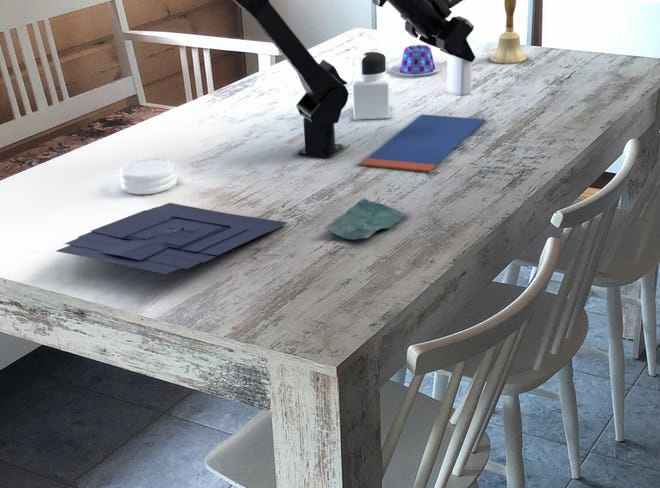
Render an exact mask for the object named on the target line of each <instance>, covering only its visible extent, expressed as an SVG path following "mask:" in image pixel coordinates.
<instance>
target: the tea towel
mask: <svg viewBox="0 0 660 488" xmlns="http://www.w3.org/2000/svg"><path fill="white" fill-rule="evenodd" d="M484 122H485V119H484V118H473V117H460V116H459V117H457V116H447V115H433V114H420V116H418V117H416V118H415V119H414V120H412V122H411V123H410V124H408V125H407V126H406V127H405V128H403V129H402V130H401V131H400V132H398V133H397V134H396V135H394V136H393V137H392V138H391V139H389V140H388V141H387V142H386V143H385V144H383V145H382V146H381V147H379V148H378V149H377V150H376V151H375V152H374V153H373V152H372V153H371V155H369V156H368V157H367V158H366V159H364V160H363V161H361V162H360V166H361V167H373V168H381V169H392V170H401V171H402V170H403V171H410V172H411V171H412V172H423V173H430V172H431V171H433V170H434V169H435V168H436V167H437V166H438V165H439V164H440V163H441V162H442V161H443V160H444V159H445V158H447V157H448V156H449V155H450V154H451V153H452V152H453V151H454V150H456V148H457V147H458V146H459V145H460V144H461V143H462V142H464V141H465V140H466V139H467V138H468V137H469V136H471V134H472V133H473V132H475V131H476V129H478V128H479V127H480V126H481V125H482V124H483V123H484Z"/></svg>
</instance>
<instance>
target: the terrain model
mask: <svg viewBox="0 0 660 488" xmlns="http://www.w3.org/2000/svg"><path fill="white" fill-rule="evenodd" d="M406 216H407V214H406V213H404V212H401V211H400V210H397V209H395V208H393V207H391V206H389V205H387V204H383V203H378V202H373V201H371V200H369V199H367V198H362V199H360V200H359V201H357V203H356V204H354V205H353V206H351V207H350V208H349V209H347V211H346V212H344V213H343V214H341V215H340V216H339V217H338V218H335V219H333V221H332V222H331V223H330V224H328V225H326V226H325V227H324V229H326V230H328V231H329V232H331V233H333V234H334V235H336V236H338V237H341V238H343V239H347V240H359V239H368V238H370V237H371V236H372V235H374V234H375V233H376V232H377V231H379V230H387V229H391V228H392V227H393V226H394V225H395V224H397V223H398V222H401V221H402V220H403V219H404V218H405V217H406Z"/></svg>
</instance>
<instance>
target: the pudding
mask: <svg viewBox="0 0 660 488" xmlns="http://www.w3.org/2000/svg"><path fill="white" fill-rule="evenodd" d="M444 67H445V66H444V64H443V63H440V62H436V61H434V56H433V51H432V49H431V48H430V47H429V46H428V45H425V44H415V45H409V46H406V47H405V48H404V50H403V54H402V57H401V63H397V64H395V65H393V66H391V68H390V71H391V72H393V73H395V74H397V75H403V76H409V77H420V76H427V75H430V74H434V73H437V72H439V71H442V70H443V69H444Z"/></svg>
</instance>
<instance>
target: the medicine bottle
mask: <svg viewBox="0 0 660 488" xmlns="http://www.w3.org/2000/svg"><path fill="white" fill-rule="evenodd" d="M354 65H355V66H354V69H355V75H353V78H352V109H353V111H352V112H353V120H355V121H357V120H359V121H360V120H379V119H389V118H390V75H389V74H388V73H387V72H386V71H387V69H386V67H387V66H386V65H387V64H386V56H385V54H383V53H381V52H377V51H367V52H362V53H359V54H358V55H356V57H355V58H354Z"/></svg>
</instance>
